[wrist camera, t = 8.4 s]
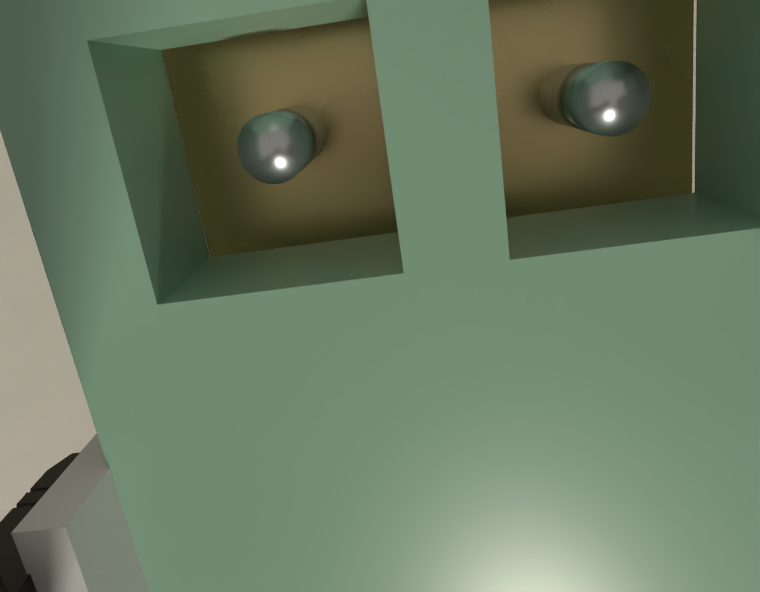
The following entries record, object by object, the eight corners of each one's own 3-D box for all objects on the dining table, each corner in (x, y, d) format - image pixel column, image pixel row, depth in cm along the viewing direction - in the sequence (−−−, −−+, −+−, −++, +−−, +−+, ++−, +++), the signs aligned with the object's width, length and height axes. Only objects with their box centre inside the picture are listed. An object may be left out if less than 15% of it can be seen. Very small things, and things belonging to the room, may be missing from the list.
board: (265, 751, 15) (238, 878, 13) (61, 9, 10) (-45, -13, 8) (755, 717, 14) (826, 846, 12) (799, -115, 9) (938, -182, 7)
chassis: (346, 595, 22) (315, 872, 14) (214, -62, 16) (33, -196, 8) (616, 571, 21) (736, 848, 14) (592, -127, 15) (792, -342, 7)
